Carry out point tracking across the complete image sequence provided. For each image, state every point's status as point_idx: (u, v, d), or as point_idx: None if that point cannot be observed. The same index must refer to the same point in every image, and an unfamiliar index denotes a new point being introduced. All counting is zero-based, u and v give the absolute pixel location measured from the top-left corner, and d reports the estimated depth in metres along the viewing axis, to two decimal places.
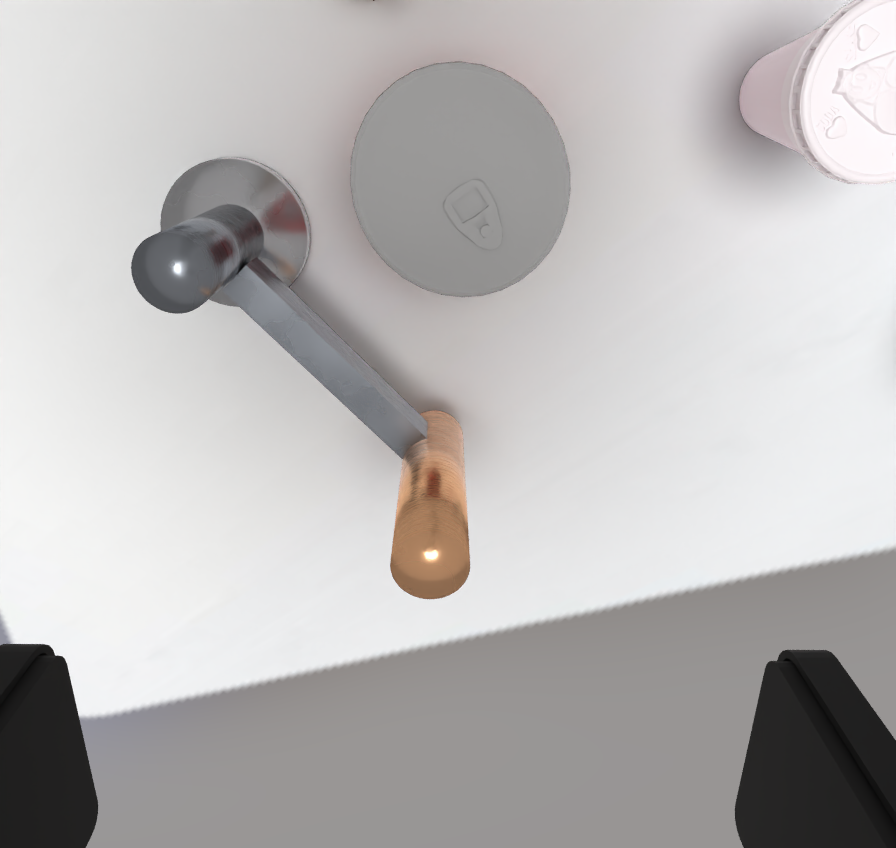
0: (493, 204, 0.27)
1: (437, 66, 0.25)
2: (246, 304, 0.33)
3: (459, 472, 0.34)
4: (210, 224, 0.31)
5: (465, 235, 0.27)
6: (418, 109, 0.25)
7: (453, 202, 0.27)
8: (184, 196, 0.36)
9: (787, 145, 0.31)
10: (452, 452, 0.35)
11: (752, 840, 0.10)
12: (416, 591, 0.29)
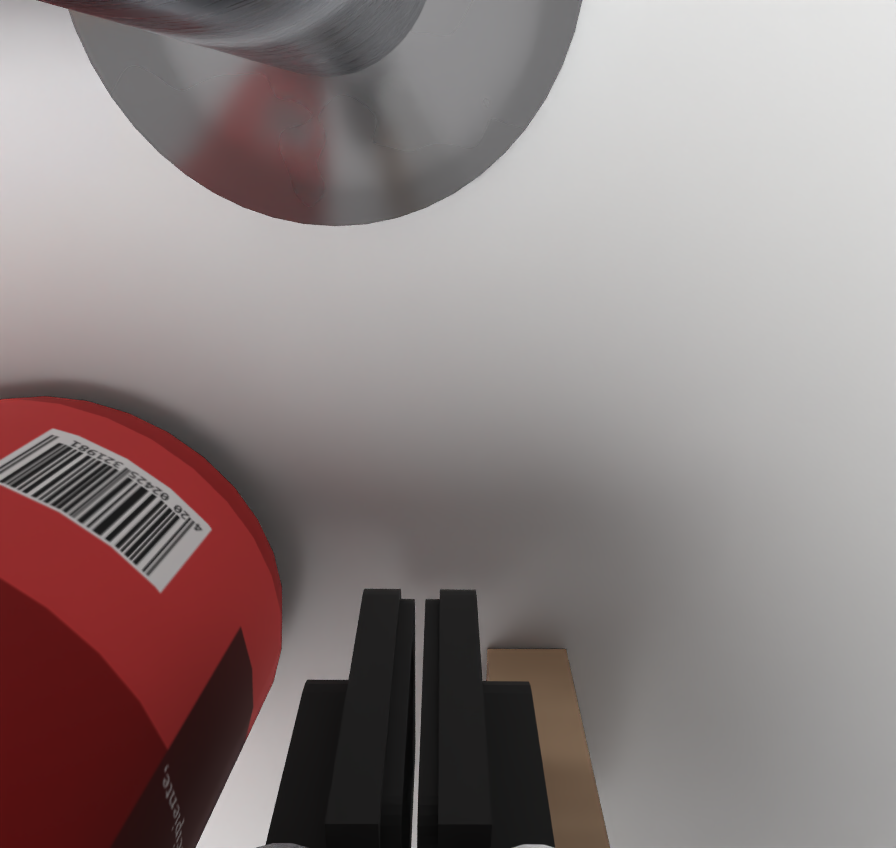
0: None
1: None
2: None
3: None
4: (278, 23, 0.05)
5: None
6: None
7: None
8: None
9: None
10: None
11: None
12: None
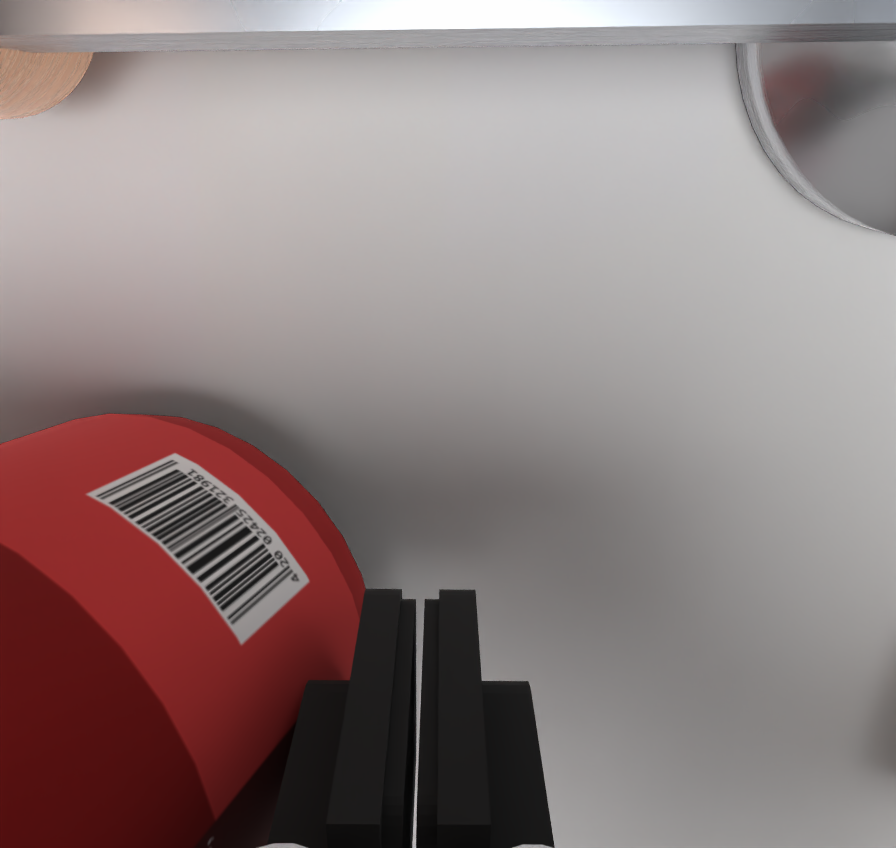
0: None
1: None
2: None
3: None
4: None
5: None
6: None
7: None
8: None
9: None
10: None
11: None
12: None
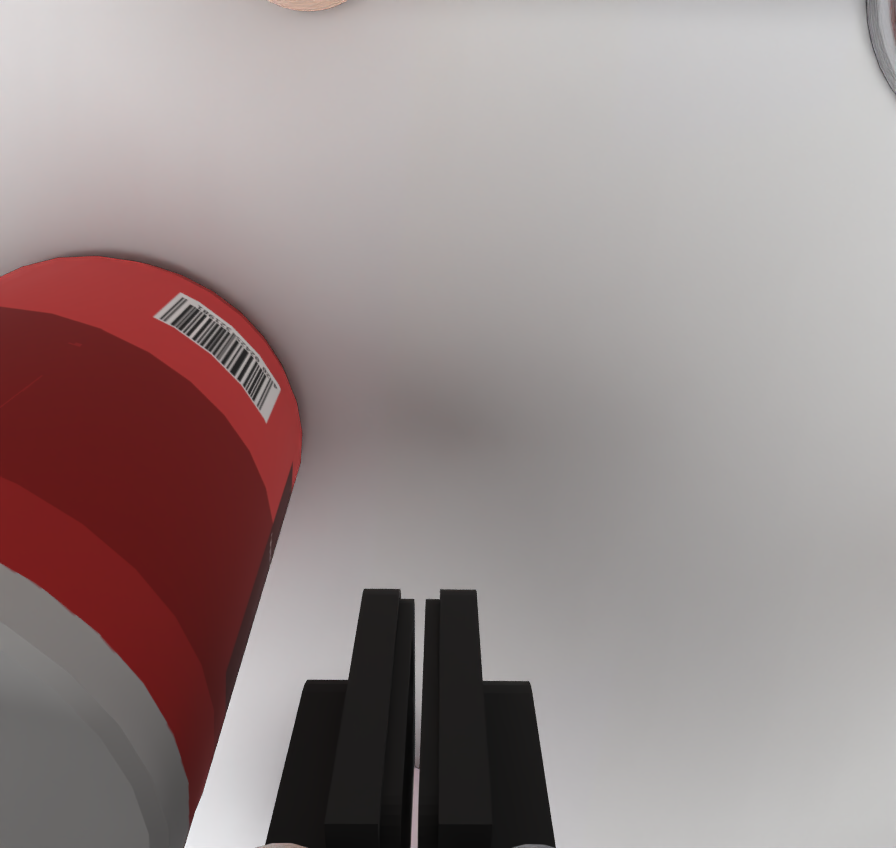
0: None
1: None
2: None
3: None
4: None
5: None
6: None
7: None
8: None
9: None
10: None
11: None
12: None
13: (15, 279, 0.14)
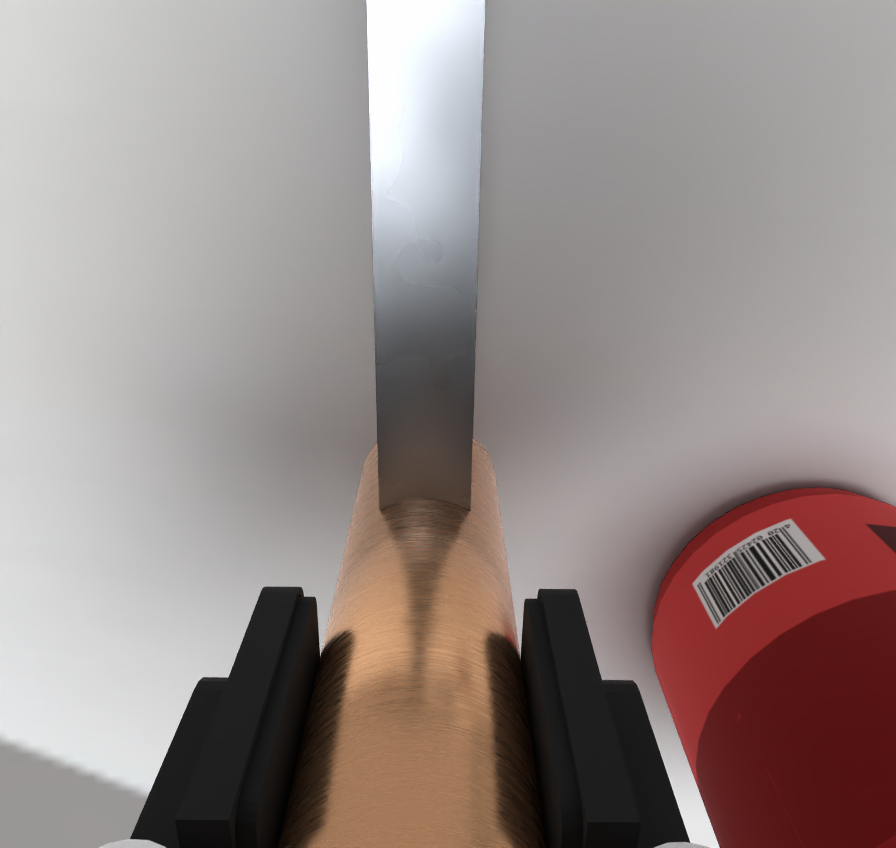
0: None
1: None
2: None
3: None
4: None
5: None
6: None
7: None
8: None
9: None
10: None
11: None
12: None
13: (671, 699, 0.18)
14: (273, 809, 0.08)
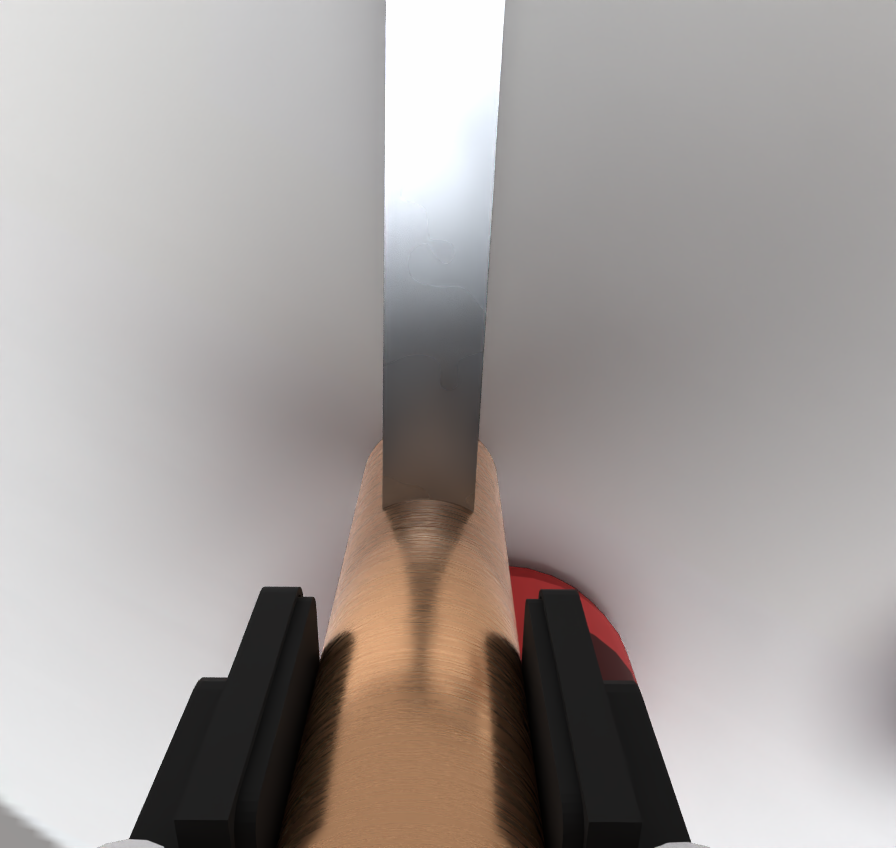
0: None
1: None
2: None
3: None
4: None
5: None
6: None
7: None
8: None
9: None
10: (512, 595, 0.13)
11: None
12: None
13: None
14: (272, 809, 0.08)
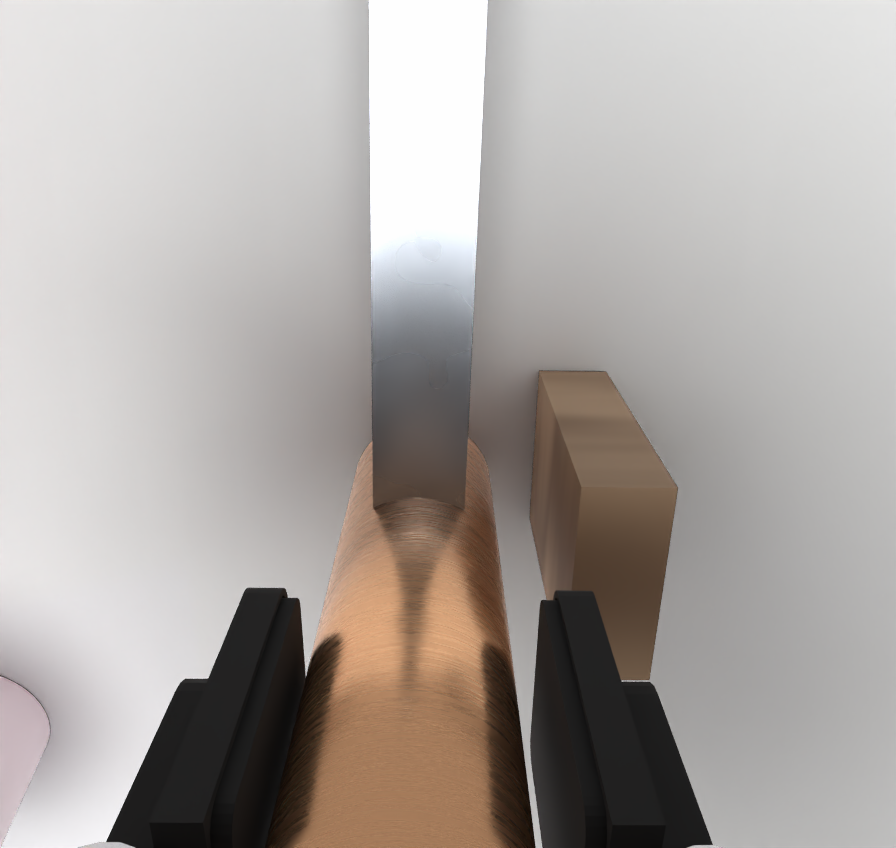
0: None
1: None
2: None
3: None
4: None
5: None
6: None
7: None
8: None
9: None
10: None
11: (534, 764, 0.11)
12: None
13: None
14: (251, 811, 0.08)
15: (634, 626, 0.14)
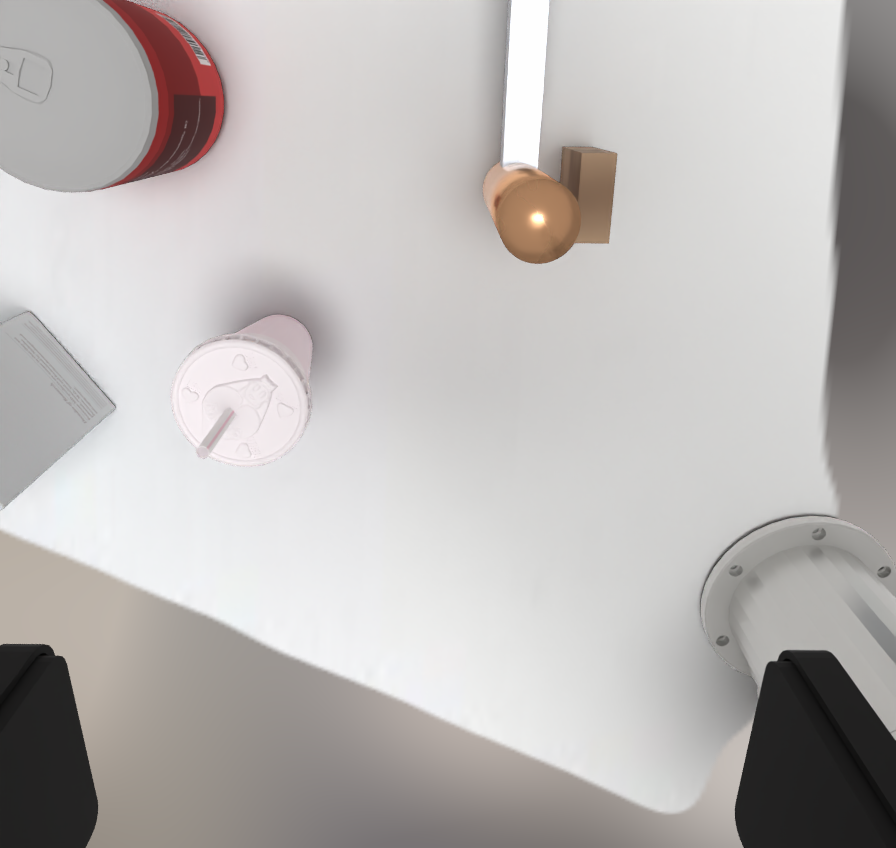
0: (16, 90, 0.29)
1: (129, 165, 0.30)
2: None
3: None
4: None
5: (14, 48, 0.28)
6: (121, 125, 0.29)
7: (43, 70, 0.28)
8: None
9: (247, 328, 0.38)
10: None
11: (752, 840, 0.10)
12: (506, 234, 0.28)
13: None
14: None
15: (602, 216, 0.35)
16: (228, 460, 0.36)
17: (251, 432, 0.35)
